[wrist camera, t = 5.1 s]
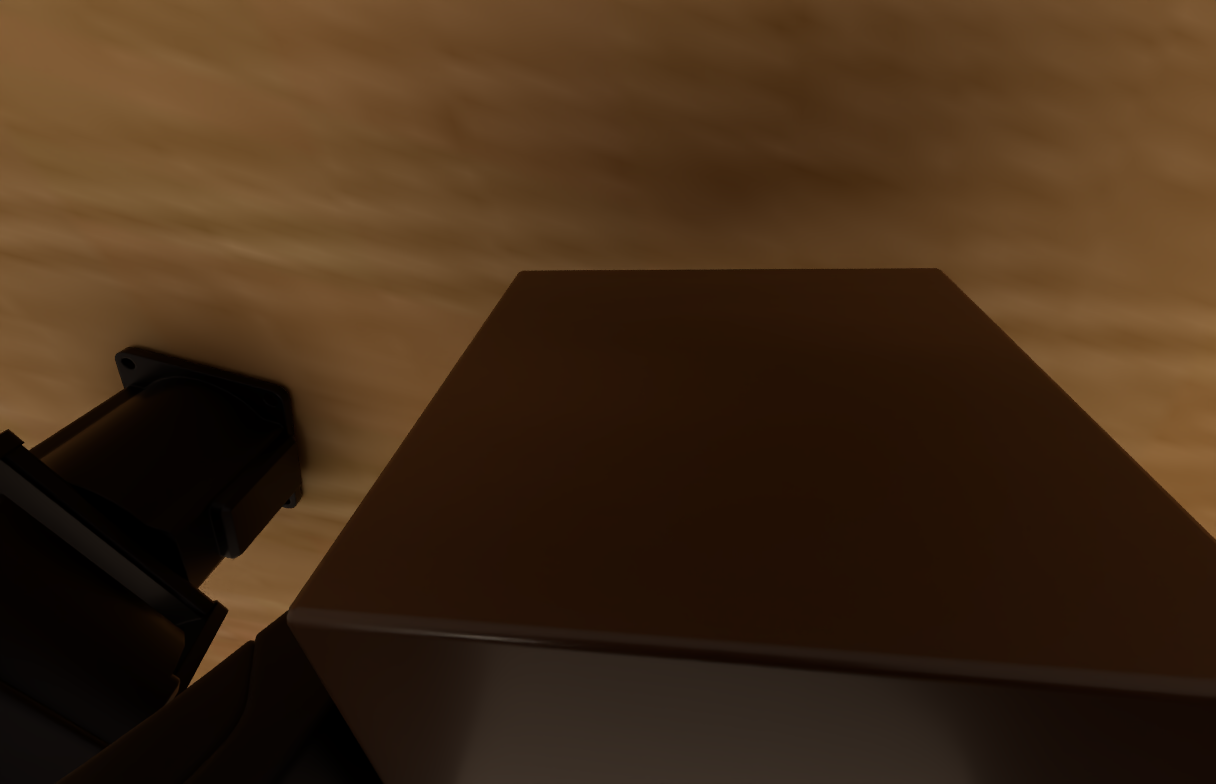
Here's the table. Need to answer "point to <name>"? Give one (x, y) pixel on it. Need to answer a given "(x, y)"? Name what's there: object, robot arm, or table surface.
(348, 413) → the table surface
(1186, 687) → the block
